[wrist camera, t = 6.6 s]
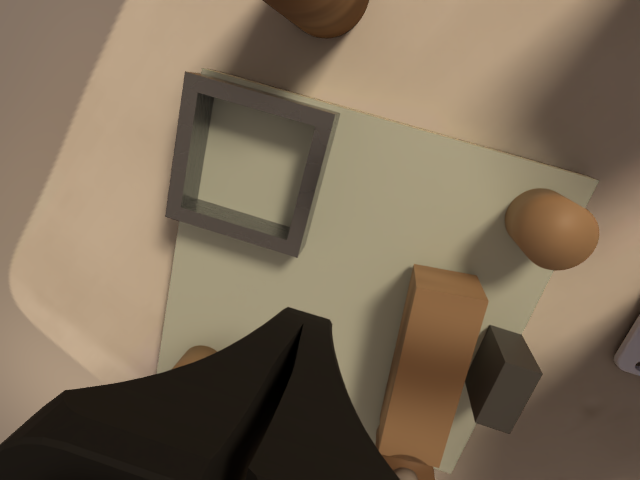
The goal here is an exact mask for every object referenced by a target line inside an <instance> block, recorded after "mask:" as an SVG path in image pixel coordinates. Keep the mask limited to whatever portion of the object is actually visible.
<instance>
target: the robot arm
mask: <svg viewBox="0 0 640 480" xmlns="http://www.w3.org/2000/svg"><path fill="white" fill-rule="evenodd" d="M614 362H615V363H616V365H617V366H618V367H619V368H620V369H621V370H623V371H625V372H628V373H631V374H635V375H638V376H640V366H635V365H636V364H637V363H638V362H640V315H639V316H638V318H637V320H636V321H635V323H634V324H633V326H632V328H631V329H630V331H629V333H628V334H627V336H626V338H625V339H624V341H623V342H622V344H621V346H620V347H619V349H618V351H617V352H616V354H615V356H614ZM0 480H400V479H399V477H398V476H397V475H396V474H395V472H394V471H393V470H392V468H391V467H390V466H389V464H388V463H387V462H386V460H385V459H384V458H383V456H382V455H381V453H380V452H379V450H378V449H377V447H376V446H375V444H374V443H373V441H372V439H371V438H370V436H369V435H368V433H367V431H366V430H365V428H364V426H363V424H362V422H361V420H360V418H359V416H358V415H357V412H356V410H355V408H354V406H353V404H352V402H351V399H350V397H349V394H348V392H347V389H346V387H345V384H344V381H343V378H342V375H341V372H340V369H339V365H338V361H337V357H336V353H335V348H334V343H333V336H332V323H331V321H330V319H327V318H323V317H320V316H317V315H313V314H310V313H307V312H304V311H300V310H297V309H294V308H290V307H287V308H285V309H283V310H282V311H280V312H279V313H278V314H277V315H275V316H274V317H273V318H271V319H270V320H269V321H267V322H266V323H265V324H263V325H262V326H260V327H259V328H257V329H256V330H254V331H253V332H251V333H250V334H248V335H247V336H245V337H243V338H242V339H240V340H238V341H236V342H235V343H233V344H231V345H229V346H227V347H226V348H224V349H222V350H220V351H218V352H216V353H214V354H212V355H210V356H207V357H205V358H203V359H200V360H198V361H195V362H193V363H190V364H187V365H184V366H181V367H178V368H175V369H172V370H169V371H165V372H162V373H159V374H155V375H151V376H147V377H143V378H139V379H134V380H130V381H125V382H120V383H114V384H108V385H101V386H95V387H87V388H80V389H73V390H65V391H64V392H62V393H61V394H60V395H58V396H57V397H56V398H54V399H53V400H52V401H50V402H49V403H48V404H46V405H45V406H44V407H42V408H41V409H40V410H39V411H38V412H37V413H36V414H34V415H33V416H32V417H31V418H30V419H29V420H27V421H26V422H25V423H24V424H23V425H22V426H21V427H20V428H18V429H17V430H16V431H15V432H14V433H13V434H12V435H11V436H9V437H8V438H7V439H6V440H5V441H4V442H2V443H1V444H0Z"/></svg>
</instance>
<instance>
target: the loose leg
mask: <svg viewBox="0 0 640 480" xmlns="http://www.w3.org/2000/svg"><path fill="white" fill-rule="evenodd" d="M263 1H264V2H266V3H267V4H268V5H270V6H271V7H272V8H274V9H275V10H276V11H278V12H279V13H280V14H282V15H283V16H284V17H286V18H287V19H288V20H290V21H291V22H292V23H294V24H295V25H296V26H298V27H299V28H300V29H302V30H303V31H304V32H306V33H308V34H310V35H312V36H315V37H319V38H333V37H337V36H340V35H342V34H344V33H346V32H348V31H349V30H350V29H352V28H353V27H354V26H355V25H356V24H357V23H358V22H359V20H360V19H361V18H362V16H363V14H364V12H365V10H366V8H367V5H368V2H369V0H263Z"/></svg>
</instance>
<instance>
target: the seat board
mask: <svg viewBox="0 0 640 480" xmlns="http://www.w3.org/2000/svg"><path fill="white" fill-rule="evenodd" d="M201 74H205V75H209V76H212V77H216V78H219V79H223V80H227V81H230V82H234V83H237V84H241V85H244V86H248V87H251V88H255V89H258V90H262V91H265V92H269V93H272V94H276V95H279V96H283V97H286V98H290V99H293V100H297V101H300V102H304V103H307V104H311V105H314V106H318V107H321V108H325V109H328V110H332V111H336V112H339V113H341V114H340V118H339V121H338V125H337V129H336V132H335V136H334V140H333V144H332V147H331V151H330V155H329V159H328V162H327V166H326V170H325V174H324V177H323V181H322V185H321V189H320V192H319V196H318V200H317V204H316V207H315V211H314V215H313V219H312V222H311V226H310V230H309V234H308V237H307V241H306V245H305V247H304V248H303V250H302V252H301V253H300V255H299V256H298V258H296V257H293V256H290V255H287V254H283V253H280V252H277V251H274V250H271V249H267V248H264V247H261V246H258V245H255V244H251V243H248V242H245V241H242V240H239V239H235V238H232V237H229V236H226V235H223V234H219V233H216V232H213V231H210V230H207V229H203V228H200V227H197V226H194V225H191V224H187V223H184V222H181V221H179V225H178V232H177V239H176V246H175V252H174V259H173V266H172V272H171V279H170V286H169V293H168V299H167V306H166V313H165V319H164V326H163V333H162V339H161V346H160V353H159V360H158V366H157V373H156V374H159V373H162V372H165V371H169V370H172V369H175V368H178V367H181V366H184V365H187V364H190V363H193V362H195V361H198V360H200V359H203V358H205V357H207V356H210V355H212V354H214V353H216V352H218V351H220V350H222V349H224V348H226V347H227V346H229V345H231V344H233V343H235V342H236V341H238V340H240V339H242V338H243V337H245V336H247V335H248V334H250V333H251V332H253V331H254V330H256V329H257V328H259V327H260V326H262V325H263V324H265V323H266V322H267V321H269V320H270V319H271V318H273V317H274V316H275V315H277V314H278V313H279V312H280V311H282V310H283V309H285V308H287V307H290V308H294V309H297V310H300V311H304V312H307V313H310V314H313V315H317V316H320V317H323V318H327V319H330V321H331V323H332V336H333V343H334V348H335V353H336V357H337V361H338V365H339V369H340V372H341V375H342V378H343V381H344V384H345V387H346V389H347V392H348V394H349V397H350V399H351V402H352V404H353V406H354V408H355V410H356V412H357V415H358V416H359V418H360V420H361V422H362V424H363V426H364V428H365V430H366V431H367V433H368V435H369V436H370V438H371V439H372V441H373V443H374V444H375V445H376V431H377V428H378V426H379V425H380V413H381V409H382V404H383V400H384V395H385V391H386V386H387V382H388V377H389V373H390V368H391V364H392V359H393V355H394V350H395V346H396V341H397V337H398V332H399V328H400V323H401V319H402V315H403V310H404V306H405V301H406V297H407V292H408V288H409V283H410V279H411V274H412V270H413V265H414V264H417V265H423V266H428V267H434V268H439V269H445V270H450V271H456V272H461V273H467V274H472V275H477V277H478V279H479V281H480V283H481V286H482V288H483V290H484V292H485V294H486V296H487V299H488V301H489V302H488V306H487V309H486V312H485V316H484V319H483V322H482V326H481V329H480V333H479V336H478V339H477V343H476V346H475V349H474V353H473V356H472V359H471V363H470V366H469V369H468V373H467V376H466V380H465V383H464V386H463V390H462V393H461V396H460V400H459V403H458V406H457V410H456V413H455V416H454V420H453V423H452V427H451V430H450V433H449V437H448V440H447V443H446V447H445V450H444V453H443V457H442V460H441V464H440V467H439V468H436V467H433V468H434V469H437V470H440V471H443V472H446V473H449V474H451V473H452V471H453V469H454V467H455V465H456V463H457V461H458V459H459V457H460V455H461V453H462V451H463V449H464V447H465V445H466V443H467V442H468V440H469V438H470V436H471V434H472V432H473V430H474V428H475V426H476V424H477V423H478V424H481V425H484V426H487V427H490V428H493V429H496V430H499V431H502V432H505V433H508V434H510V433H511V431H512V429H513V427H514V425H515V423H516V422H517V420H518V418H519V416H520V414H521V413H522V411H523V409H524V407H525V405H526V403H527V402H528V400H529V398H530V396H531V394H532V392H533V391H534V389H535V387H536V385H537V383H538V381H539V380H540V378H541V376H542V372H541V370H540V368H539V366H538V364H537V362H536V361H535V359H534V357H533V355H532V353H531V351H530V349H529V348H528V346H527V344H526V342H525V340H524V338H523V336H522V333H523V331H524V329H525V327H526V325H527V323H528V321H529V319H530V317H531V315H532V313H533V311H534V309H535V307H536V305H537V303H538V301H539V299H540V297H541V295H542V293H543V291H544V289H545V287H546V285H547V283H548V281H549V279H550V277H551V275H552V273H553V271H554V270H565V269H569V268H572V267H575V266H577V265H579V264H580V263H582V262H583V261H585V260H586V259H587V258H588V257H589V256H590V255H591V254H592V253H593V251H594V249H595V248H596V245H597V243H598V240H599V227H598V223H597V221H596V219H595V217H594V216H593V215H592V214H591V213H590V212H589V211H588V210H587V209H585V208H586V206H587V204H588V202H589V200H590V198H591V196H592V194H593V192H594V190H595V188H596V186H597V184H598V182H599V180H596V179H594V178H591V177H589V176H586V175H583V174H579V173H576V172H572V171H569V170H565V169H562V168H558V167H555V166H551V165H547V164H544V163H540V162H537V161H533V160H530V159H526V158H523V157H519V156H516V155H512V154H509V153H505V152H502V151H498V150H495V149H491V148H487V147H484V146H480V145H477V144H473V143H470V142H466V141H463V140H459V139H456V138H452V137H449V136H445V135H442V134H438V133H434V132H431V131H427V130H424V129H420V128H417V127H413V126H410V125H406V124H403V123H399V122H396V121H392V120H389V119H385V118H381V117H378V116H374V115H371V114H367V113H364V112H360V111H357V110H353V109H350V108H346V107H343V106H339V105H336V104H332V103H328V102H325V101H321V100H318V99H314V98H311V97H307V96H304V95H300V94H297V93H293V92H290V91H286V90H283V89H279V88H276V87H272V86H268V85H265V84H261V83H258V82H254V81H251V80H247V79H244V78H240V77H237V76H233V75H230V74H226V73H223V72H219V71H215V70H210V69H204V68H202V71H201ZM314 130H315V126H312V125H309V124H305V123H302V122H298V121H295V120H291V119H288V118H284V117H281V116H277V115H274V114H270V113H267V112H264V111H260V110H257V109H253V108H250V107H246V106H243V105H239V104H236V103H232V102H229V101H225V100H222V99H218V98H215V97H214V102H213V108H212V114H211V120H210V126H209V132H208V139H207V145H206V151H205V157H204V163H203V169H202V176H201V182H200V188H199V194H198V199H200V200H203V201H207V202H210V203H213V204H216V205H220V206H223V207H226V208H229V209H233V210H236V211H239V212H242V213H246V214H249V215H252V216H255V217H259V218H262V219H265V220H269V221H272V222H275V223H278V224H282V225H285V226H288V227H290V226H291V222H292V218H293V214H294V210H295V206H296V202H297V198H298V194H299V190H300V186H301V182H302V178H303V174H304V170H305V166H306V162H307V158H308V154H309V150H310V146H311V142H312V138H313V134H314Z"/></svg>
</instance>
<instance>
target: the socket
mask: <svg viewBox="0 0 640 480" xmlns="http://www.w3.org/2000/svg"><path fill="white" fill-rule="evenodd" d="M214 97H215V98H218V99H222V100H225V101H229V102H232V103H236V104H239V105H243V106H246V107H250V108H253V109H257V110H260V111H264V112H267V113H270V114H274V115H277V116H281V117H284V118H288V119H291V120H295V121H298V122H302V123H305V124H309V125H312V126H315V130H314V134H313V138H312V142H311V146H310V150H309V154H308V158H307V162H306V166H305V170H304V174H303V178H302V182H301V186H300V190H299V194H298V198H297V202H296V206H295V210H294V214H293V218H292V222H291V226H290V227H288V226H285V225H282V224H278V223H275V222H272V221H269V220H265V219H262V218H259V217H255V216H252V215H249V214H246V213H242V212H239V211H236V210H233V209H229V208H226V207H223V206H220V205H216V204H213V203H210V202H207V201H203V200H200V199H198V194H199V188H200V182H201V176H202V169H203V163H204V157H205V151H206V145H207V139H208V132H209V126H210V120H211V114H212V108H213V102H214ZM340 114H341V113H339V112H336V111H332V110H328V109H325V108H321V107H318V106H314V105H311V104H307V103H304V102H300V101H297V100H293V99H290V98H286V97H283V96H279V95H276V94H272V93H269V92H265V91H262V90H258V89H255V88H251V87H248V86H244V85H241V84H237V83H234V82H230V81H227V80H223V79H219V78H216V77H212V76H209V75H205V74H200V73H192V72H185V76H184V83H183V90H182V98H181V105H180V112H179V120H178V127H177V135H176V142H175V149H174V157H173V164H172V171H171V179H170V186H169V193H168V201H167V208H166V215H165V217H168V218H171V219H175V220H178V221H181V222H184V223H187V224H191V225H194V226H197V227H200V228H203V229H207V230H210V231H213V232H216V233H219V234H223V235H226V236H229V237H232V238H235V239H239V240H242V241H245V242H248V243H251V244H255V245H258V246H261V247H264V248H267V249H271V250H274V251H277V252H280V253H283V254H287V255H290V256H293V257H296V258H298V256H299V255H300V253H301V252H302V250H303V248H304V247H305V245H306V241H307V237H308V234H309V230H310V226H311V222H312V219H313V215H314V211H315V207H316V204H317V200H318V196H319V192H320V189H321V185H322V181H323V177H324V174H325V170H326V166H327V162H328V159H329V155H330V151H331V147H332V144H333V140H334V136H335V132H336V129H337V125H338V121H339V118H340Z"/></svg>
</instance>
